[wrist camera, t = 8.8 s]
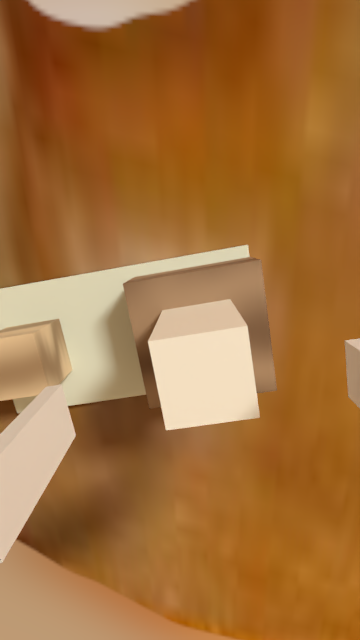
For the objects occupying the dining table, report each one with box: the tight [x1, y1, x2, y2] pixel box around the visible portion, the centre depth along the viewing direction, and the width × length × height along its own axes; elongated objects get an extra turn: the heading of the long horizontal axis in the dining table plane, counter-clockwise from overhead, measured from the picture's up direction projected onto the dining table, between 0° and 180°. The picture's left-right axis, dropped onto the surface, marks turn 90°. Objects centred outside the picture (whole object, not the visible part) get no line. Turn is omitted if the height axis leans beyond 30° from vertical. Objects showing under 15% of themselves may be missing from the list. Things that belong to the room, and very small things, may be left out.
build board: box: [0, 245, 249, 413], centre depth 31 cm, size 12×24×1 cm, turn 100°
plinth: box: [123, 257, 277, 409], centre depth 27 cm, size 10×10×5 cm
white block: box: [148, 299, 260, 430], centre depth 21 cm, size 5×5×8 cm
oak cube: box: [0, 319, 72, 401], centre depth 29 cm, size 5×5×5 cm
